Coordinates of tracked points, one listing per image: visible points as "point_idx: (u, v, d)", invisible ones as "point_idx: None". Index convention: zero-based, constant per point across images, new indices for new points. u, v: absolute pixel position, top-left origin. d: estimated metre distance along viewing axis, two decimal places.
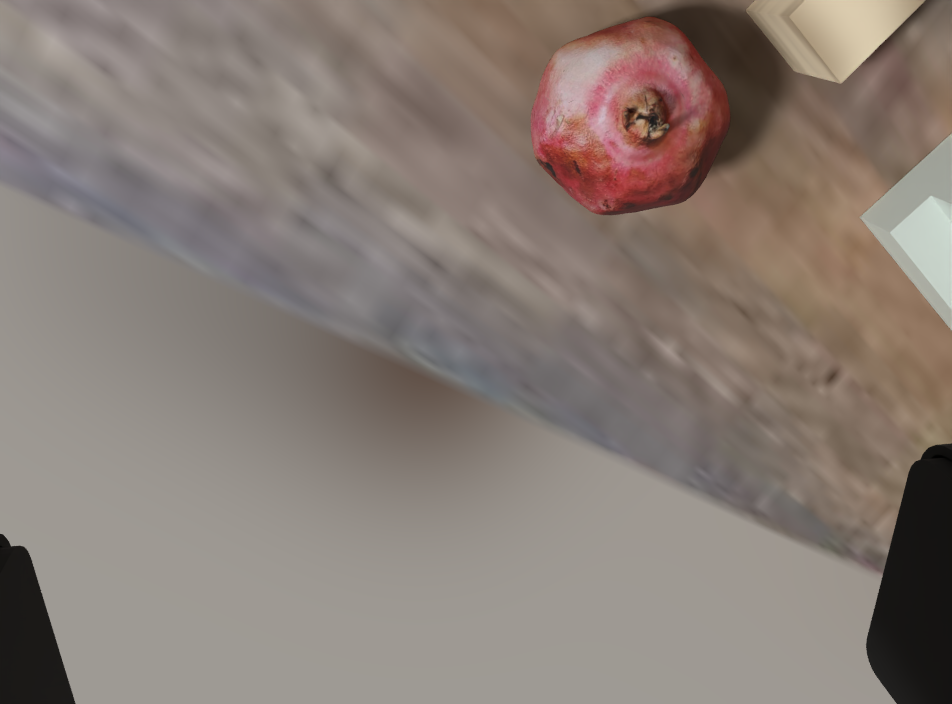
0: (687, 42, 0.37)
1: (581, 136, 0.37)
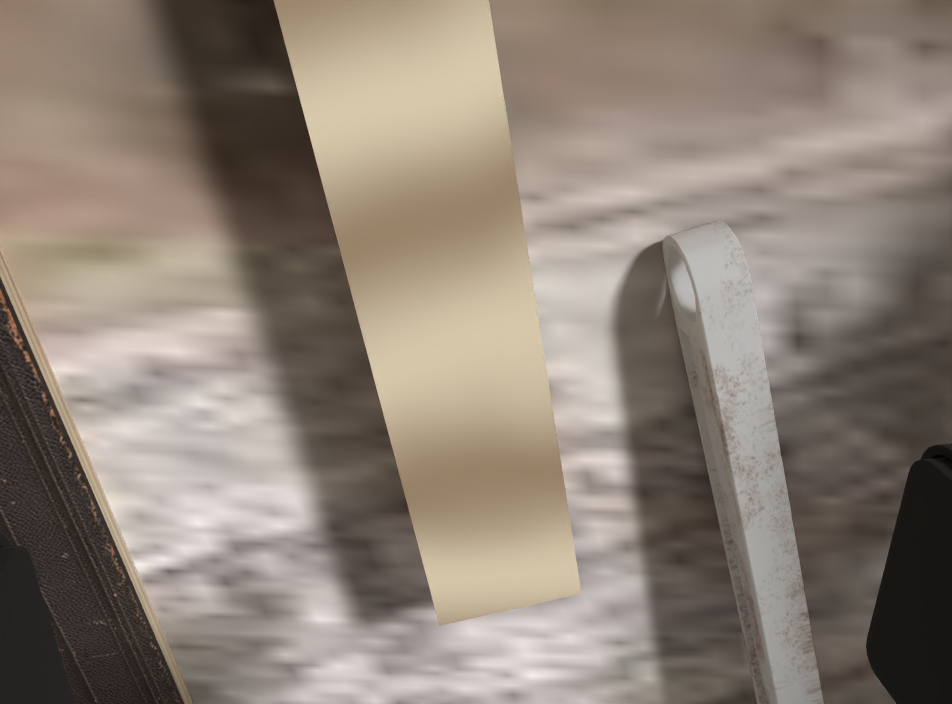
0: None
1: None
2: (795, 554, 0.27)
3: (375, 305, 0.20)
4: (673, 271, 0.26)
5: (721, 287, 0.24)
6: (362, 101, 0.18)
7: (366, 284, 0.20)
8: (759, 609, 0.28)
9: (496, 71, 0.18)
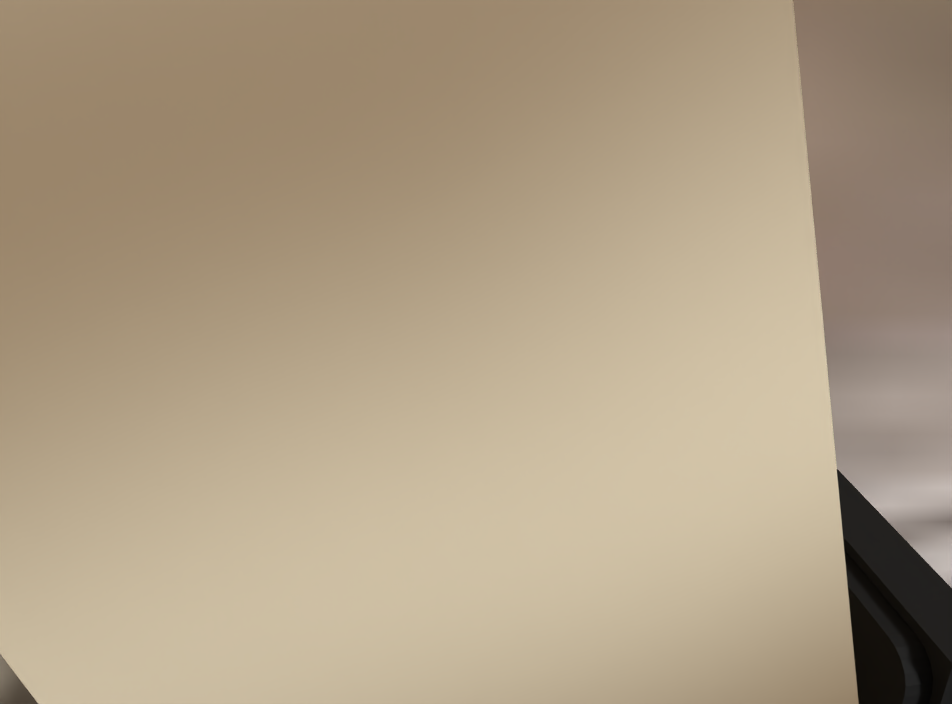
0: None
1: None
2: None
3: None
4: None
5: None
6: (277, 624, 0.04)
7: None
8: None
9: (821, 443, 0.04)
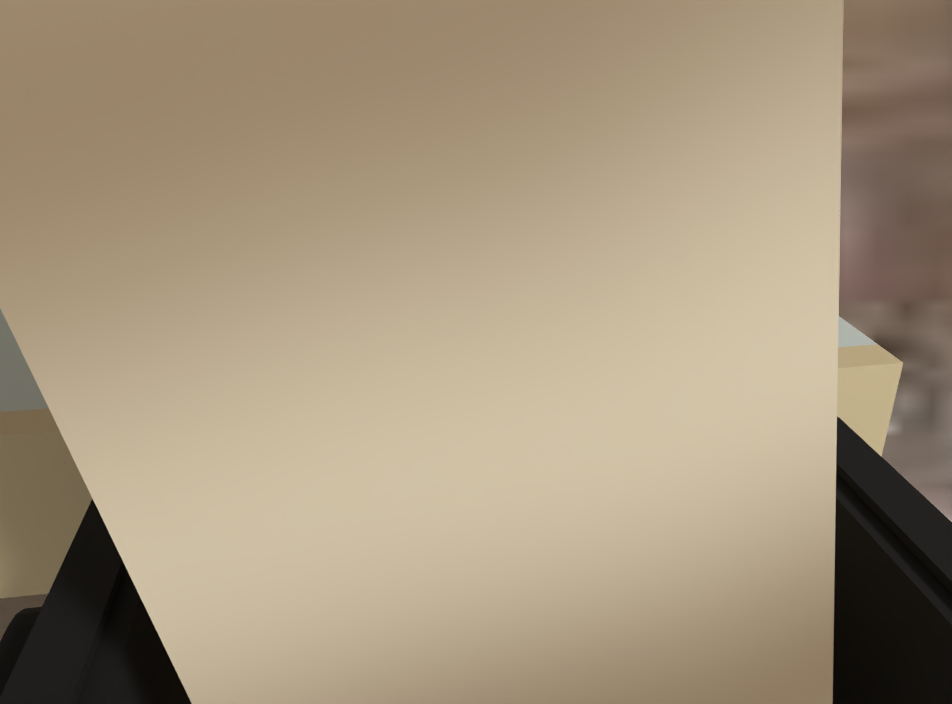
0: None
1: None
2: None
3: None
4: None
5: None
6: (340, 497, 0.05)
7: None
8: None
9: (827, 375, 0.05)
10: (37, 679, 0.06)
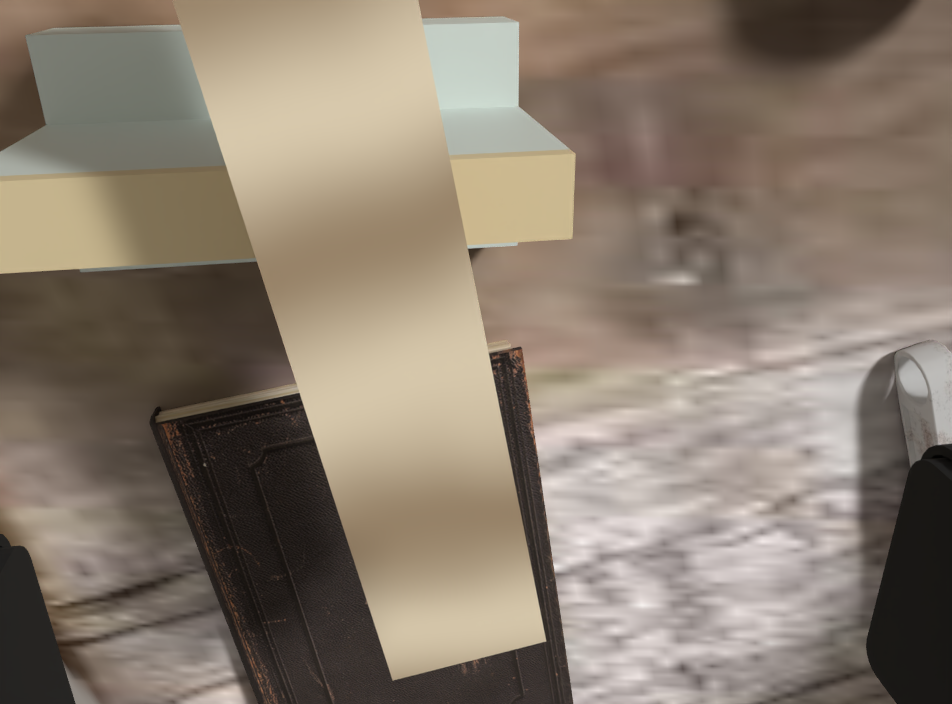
0: None
1: None
2: None
3: (305, 339, 0.18)
4: (900, 370, 0.41)
5: (944, 385, 0.38)
6: (280, 114, 0.16)
7: (294, 316, 0.18)
8: None
9: (430, 79, 0.16)
10: None
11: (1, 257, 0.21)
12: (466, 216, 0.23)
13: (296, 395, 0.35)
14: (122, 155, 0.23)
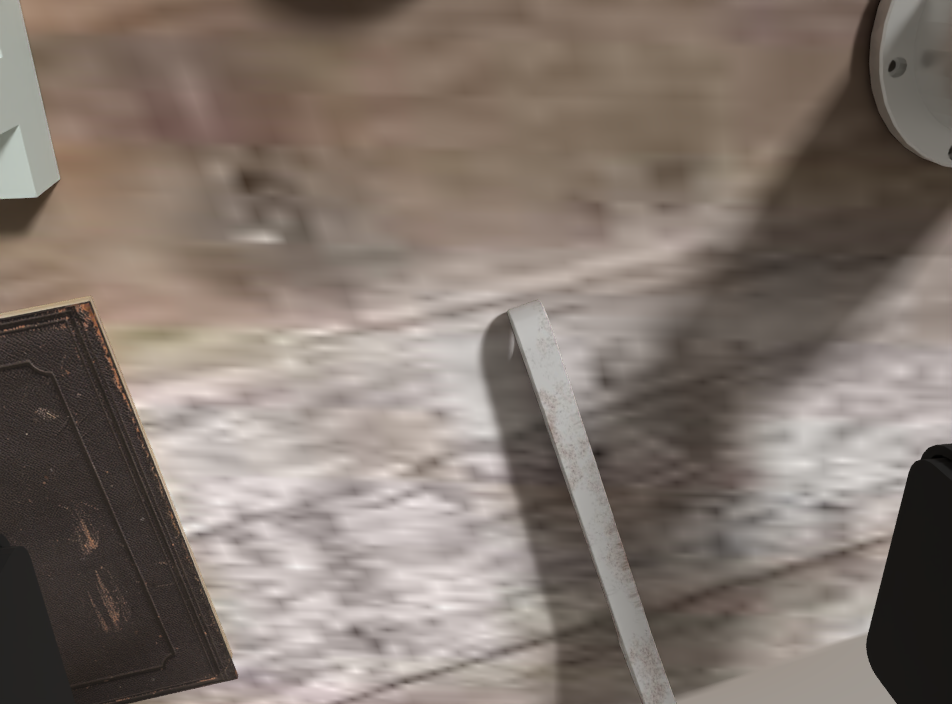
0: None
1: None
2: (607, 505, 0.42)
3: None
4: None
5: (536, 342, 0.39)
6: None
7: None
8: (589, 542, 0.43)
9: None
10: None
11: None
12: None
13: None
14: None
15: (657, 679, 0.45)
